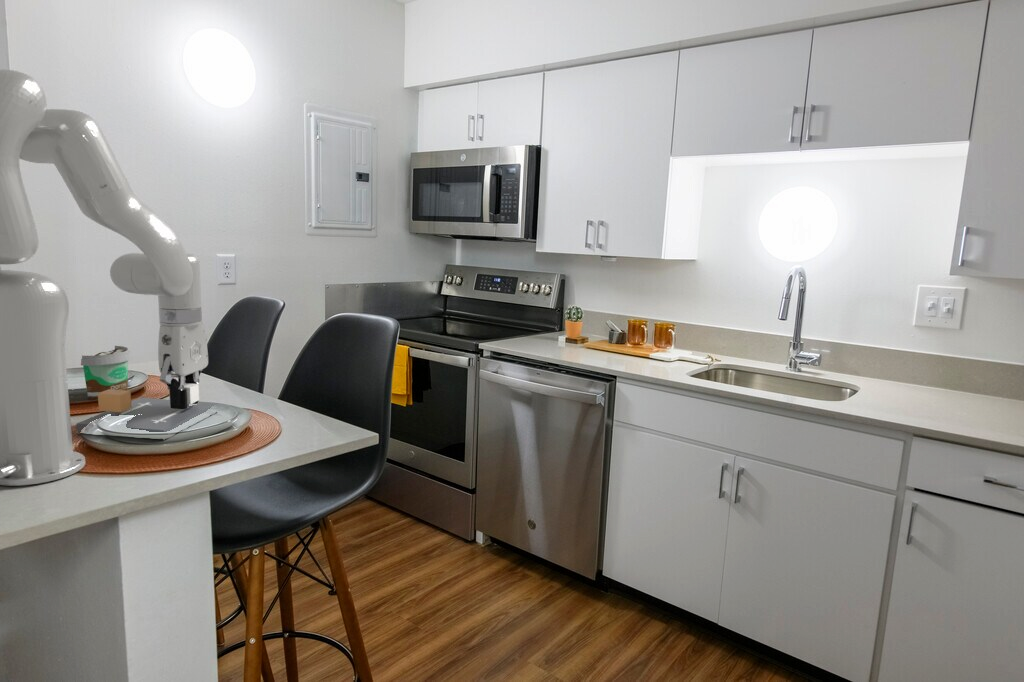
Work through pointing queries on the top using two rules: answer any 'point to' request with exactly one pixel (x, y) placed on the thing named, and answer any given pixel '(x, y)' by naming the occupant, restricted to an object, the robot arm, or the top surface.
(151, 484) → the top surface
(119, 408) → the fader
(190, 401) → the fader
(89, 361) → the food container
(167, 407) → the panel
